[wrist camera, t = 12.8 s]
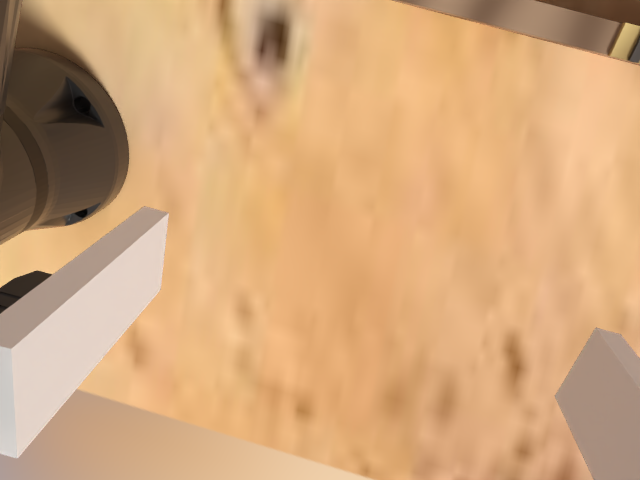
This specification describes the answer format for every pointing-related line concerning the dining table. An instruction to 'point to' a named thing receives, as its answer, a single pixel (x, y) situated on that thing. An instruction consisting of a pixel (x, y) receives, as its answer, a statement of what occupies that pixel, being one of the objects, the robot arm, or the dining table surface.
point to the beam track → (546, 24)
